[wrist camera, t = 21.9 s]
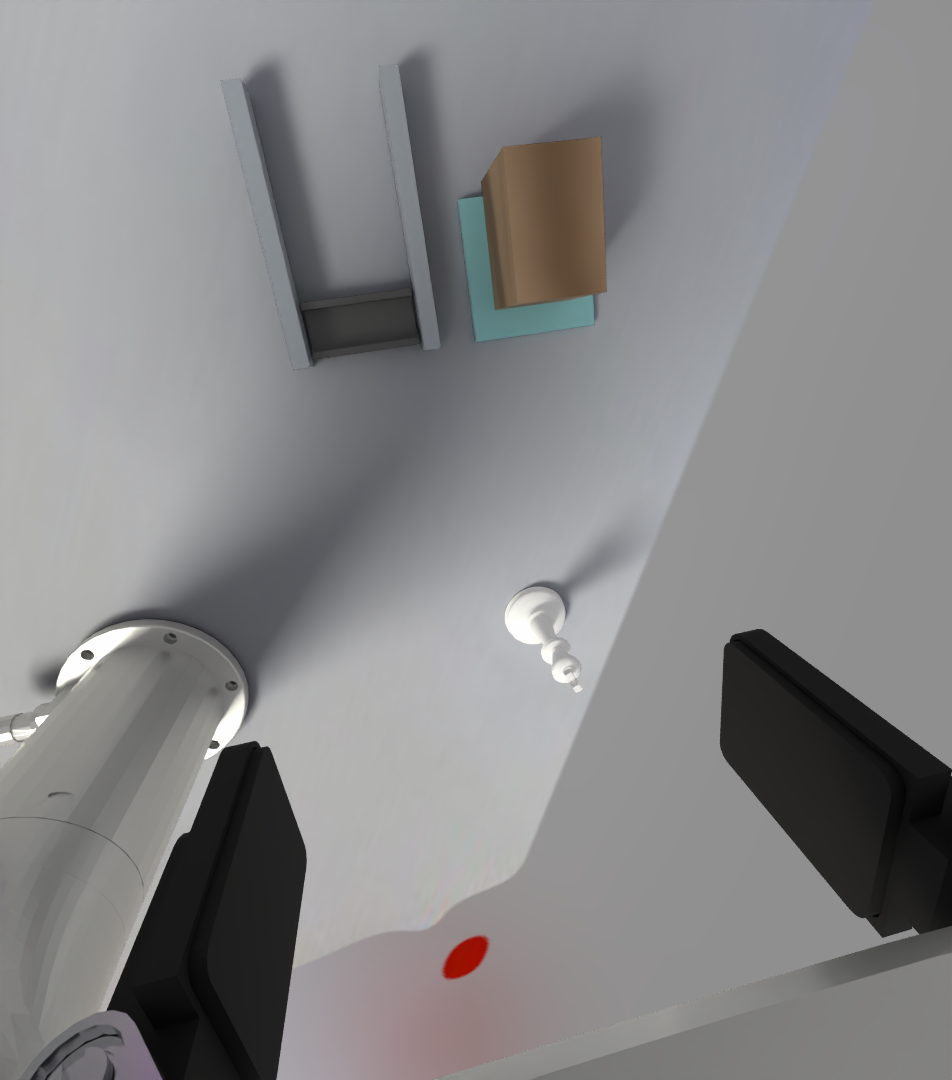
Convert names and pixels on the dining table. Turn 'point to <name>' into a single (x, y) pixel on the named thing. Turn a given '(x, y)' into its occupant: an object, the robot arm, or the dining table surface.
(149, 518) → the dining table surface
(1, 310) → the dining table surface
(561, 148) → the walnut block
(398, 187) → the grey twin-rail rack
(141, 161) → the dining table surface
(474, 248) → the pad
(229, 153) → the dining table surface
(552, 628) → the chess piece
